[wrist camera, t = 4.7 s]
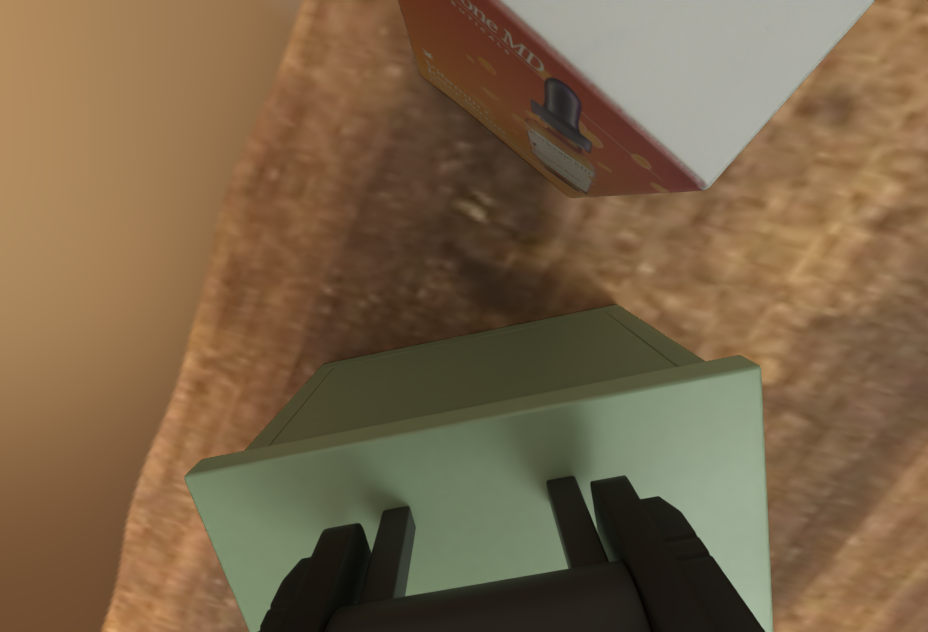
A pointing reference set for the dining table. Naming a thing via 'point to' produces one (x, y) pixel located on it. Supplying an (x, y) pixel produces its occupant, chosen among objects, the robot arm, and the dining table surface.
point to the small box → (624, 79)
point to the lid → (503, 504)
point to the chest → (474, 372)
